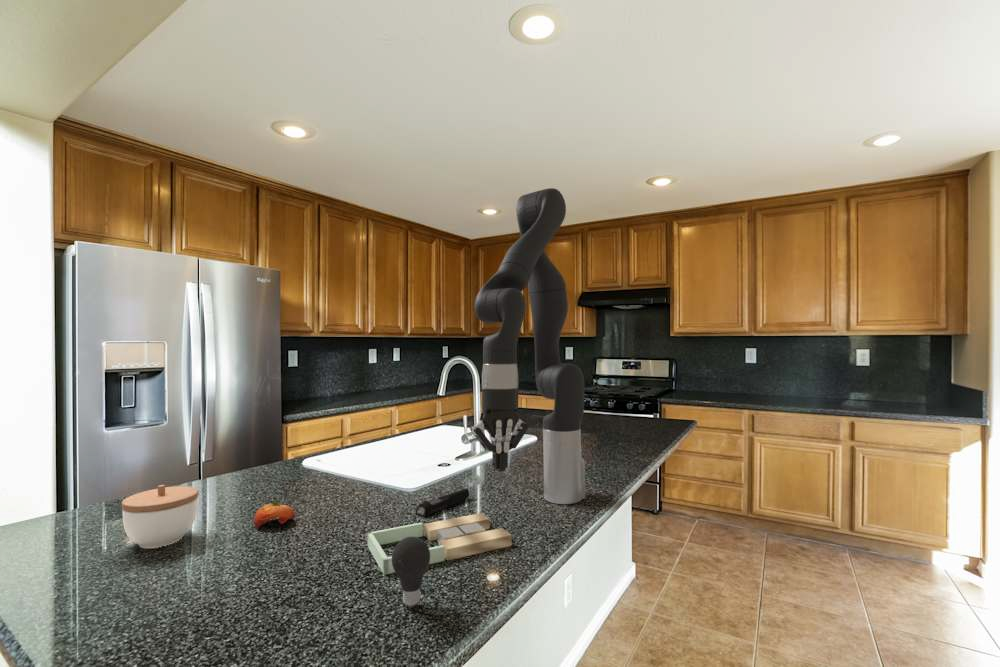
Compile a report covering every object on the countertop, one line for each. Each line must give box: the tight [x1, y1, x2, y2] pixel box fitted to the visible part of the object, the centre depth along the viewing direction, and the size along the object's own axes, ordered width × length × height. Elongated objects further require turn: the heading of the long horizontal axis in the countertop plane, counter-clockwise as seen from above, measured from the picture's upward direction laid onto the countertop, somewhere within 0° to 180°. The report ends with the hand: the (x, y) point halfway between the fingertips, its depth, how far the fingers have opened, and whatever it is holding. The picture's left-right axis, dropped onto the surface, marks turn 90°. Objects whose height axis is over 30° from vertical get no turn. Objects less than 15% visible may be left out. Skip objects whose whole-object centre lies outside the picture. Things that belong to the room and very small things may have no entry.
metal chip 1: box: [436, 527, 464, 546], centre depth 93 cm, size 4×4×2 cm
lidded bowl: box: [121, 484, 200, 550], centre depth 97 cm, size 13×13×11 cm
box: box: [366, 522, 446, 576], centre depth 90 cm, size 11×13×2 cm
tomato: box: [253, 498, 295, 530], centre depth 105 cm, size 8×7×7 cm
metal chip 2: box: [459, 523, 486, 536], centre depth 95 cm, size 4×4×2 cm
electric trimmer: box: [414, 487, 470, 518], centre depth 114 cm, size 4×16×3 cm, turn 140°
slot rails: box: [422, 512, 513, 561], centre depth 95 cm, size 13×14×2 cm
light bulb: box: [391, 537, 430, 608], centre depth 72 cm, size 6×6×10 cm
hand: (500, 470), depth 99 cm, fingers closed
